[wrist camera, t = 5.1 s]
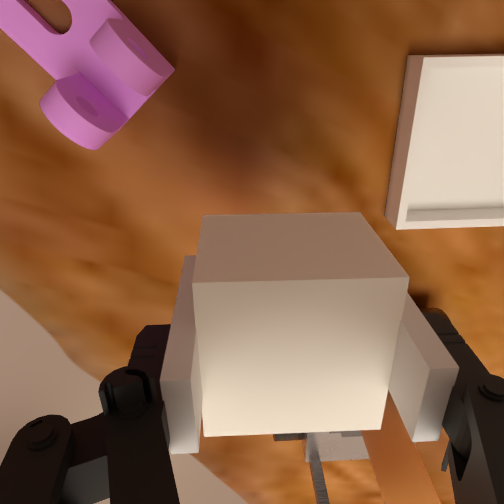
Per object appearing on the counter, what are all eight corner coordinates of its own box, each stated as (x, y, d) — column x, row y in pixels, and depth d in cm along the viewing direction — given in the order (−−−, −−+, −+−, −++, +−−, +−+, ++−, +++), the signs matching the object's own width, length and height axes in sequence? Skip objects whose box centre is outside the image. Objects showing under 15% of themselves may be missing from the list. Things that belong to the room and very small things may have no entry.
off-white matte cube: (203, 215, 16) (191, 282, 11) (359, 211, 16) (409, 277, 12) (210, 341, 18) (204, 436, 14) (344, 337, 19) (380, 429, 14)
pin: (345, 375, 30) (426, 614, 18) (400, 372, 30) (518, 608, 18) (340, 414, 32) (411, 655, 20) (392, 411, 32) (494, 649, 20)
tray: (407, 55, 27) (423, 57, 25) (576, 52, 27) (607, 53, 25) (384, 216, 32) (395, 229, 30) (526, 211, 32) (547, 224, 30)
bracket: (175, 69, 27) (159, 80, 21) (119, 130, 28) (89, 157, 22) (-9, -129, 22) (-102, -192, 16) (-64, -43, 23) (-168, -69, 17)
